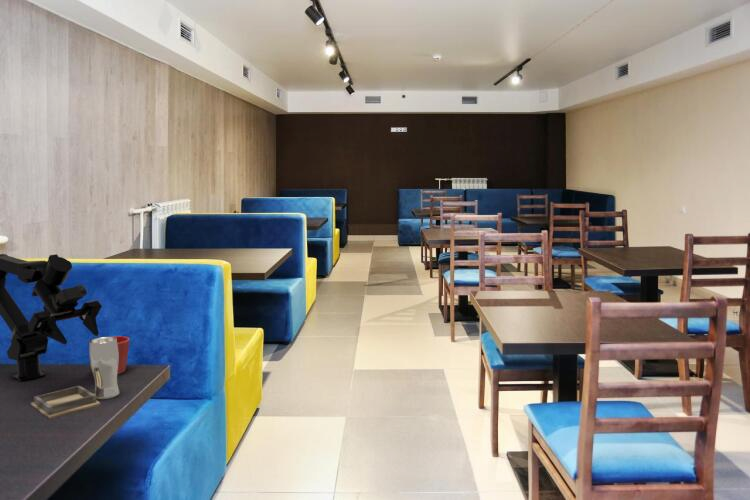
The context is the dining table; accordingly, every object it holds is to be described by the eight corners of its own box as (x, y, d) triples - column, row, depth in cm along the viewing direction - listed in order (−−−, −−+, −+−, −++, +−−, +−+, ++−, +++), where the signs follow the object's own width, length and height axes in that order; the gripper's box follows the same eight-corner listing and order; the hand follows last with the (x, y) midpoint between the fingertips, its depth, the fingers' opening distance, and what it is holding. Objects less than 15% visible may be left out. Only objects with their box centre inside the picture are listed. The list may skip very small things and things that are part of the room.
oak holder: (30, 404, 153) (29, 395, 152) (79, 392, 161) (79, 383, 161) (49, 418, 143) (48, 409, 143) (100, 404, 151) (100, 396, 151)
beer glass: (110, 400, 154) (106, 343, 153) (86, 399, 156) (82, 342, 154) (126, 391, 161) (123, 336, 159) (103, 389, 163) (99, 335, 161)
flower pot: (102, 366, 183) (100, 335, 182) (137, 366, 183) (135, 335, 182) (84, 377, 173) (81, 345, 172) (121, 377, 172) (119, 345, 171)
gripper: (29, 282, 153) (59, 327, 149) (94, 271, 169) (123, 312, 165) (15, 311, 158) (44, 355, 154) (80, 298, 174) (108, 338, 170)
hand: (82, 339), depth 160 cm, fingers open, 9 cm apart
